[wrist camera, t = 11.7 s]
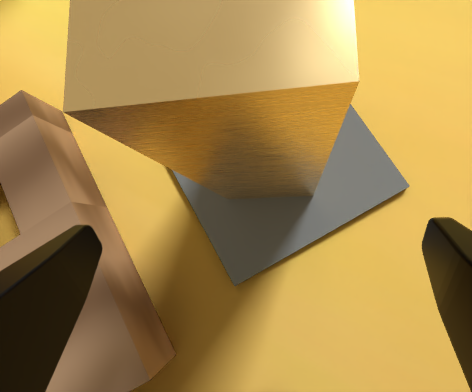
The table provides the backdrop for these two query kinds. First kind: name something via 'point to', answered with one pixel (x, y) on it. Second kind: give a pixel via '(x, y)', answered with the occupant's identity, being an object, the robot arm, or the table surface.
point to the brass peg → (217, 86)
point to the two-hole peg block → (110, 264)
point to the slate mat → (297, 205)
